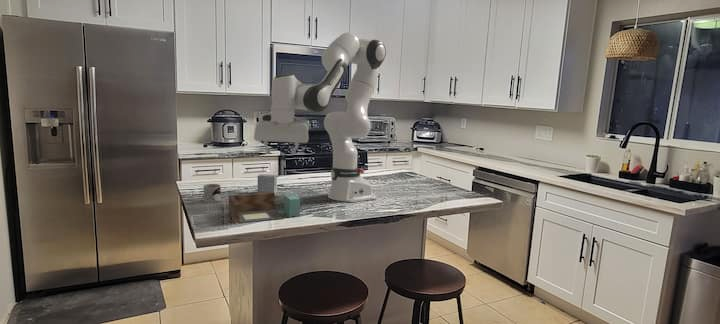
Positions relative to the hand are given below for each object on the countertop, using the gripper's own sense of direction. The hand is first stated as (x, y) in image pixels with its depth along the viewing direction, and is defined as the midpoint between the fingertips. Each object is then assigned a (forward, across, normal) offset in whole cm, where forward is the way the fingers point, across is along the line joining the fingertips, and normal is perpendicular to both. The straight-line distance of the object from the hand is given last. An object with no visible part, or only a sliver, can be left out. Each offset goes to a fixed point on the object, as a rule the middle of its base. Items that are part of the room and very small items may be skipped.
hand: (280, 153), depth 158 cm
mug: (+24, +25, -23) cm, 42 cm away
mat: (+24, +8, +2) cm, 25 cm away
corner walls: (+24, +8, +2) cm, 25 cm away
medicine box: (+23, +2, -33) cm, 40 cm away
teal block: (+24, -5, 0) cm, 24 cm away
